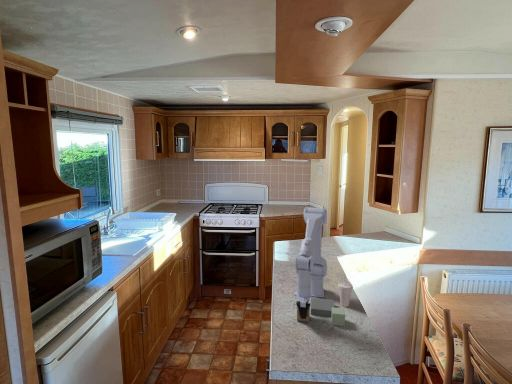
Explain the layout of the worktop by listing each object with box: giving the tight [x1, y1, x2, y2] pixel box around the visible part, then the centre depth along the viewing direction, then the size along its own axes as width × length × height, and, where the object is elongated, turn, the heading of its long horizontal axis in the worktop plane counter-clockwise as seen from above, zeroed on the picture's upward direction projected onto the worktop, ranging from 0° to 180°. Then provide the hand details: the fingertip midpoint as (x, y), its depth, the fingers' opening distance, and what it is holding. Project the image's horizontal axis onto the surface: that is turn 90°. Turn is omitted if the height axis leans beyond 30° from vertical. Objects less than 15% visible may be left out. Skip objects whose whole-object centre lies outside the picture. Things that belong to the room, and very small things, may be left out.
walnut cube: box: [296, 306, 311, 323], centre depth 131 cm, size 5×5×5 cm
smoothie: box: [337, 274, 354, 308], centre depth 142 cm, size 6×6×14 cm
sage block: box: [330, 306, 346, 327], centre depth 128 cm, size 5×5×5 cm
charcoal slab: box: [310, 297, 335, 317], centre depth 138 cm, size 10×10×3 cm
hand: (303, 314), depth 131 cm, fingers closed on walnut cube, 5 cm apart
